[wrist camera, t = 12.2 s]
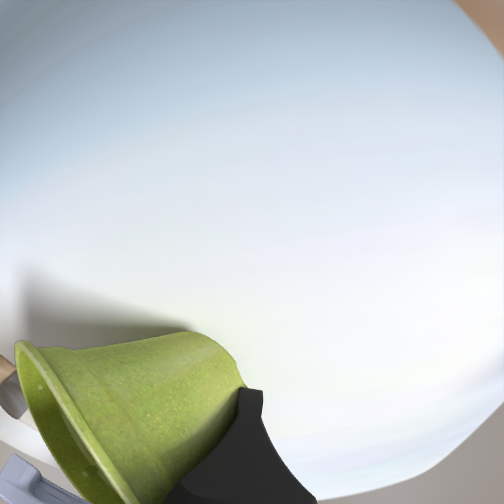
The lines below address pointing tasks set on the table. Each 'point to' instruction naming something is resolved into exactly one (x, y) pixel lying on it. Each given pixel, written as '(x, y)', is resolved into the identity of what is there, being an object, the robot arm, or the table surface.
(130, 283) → the table surface
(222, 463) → the robot arm
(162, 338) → the plant pot
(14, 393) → the oak arm
